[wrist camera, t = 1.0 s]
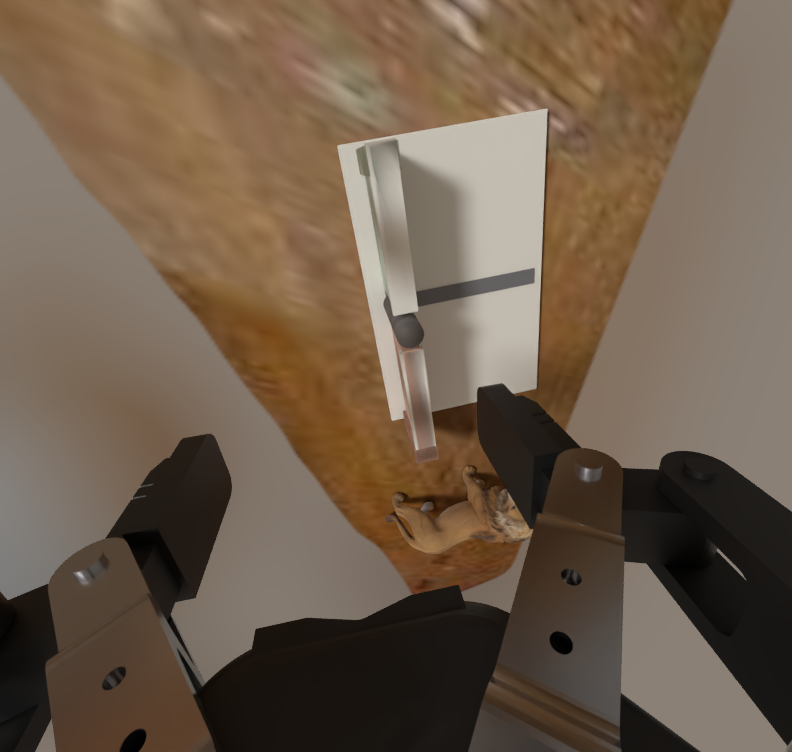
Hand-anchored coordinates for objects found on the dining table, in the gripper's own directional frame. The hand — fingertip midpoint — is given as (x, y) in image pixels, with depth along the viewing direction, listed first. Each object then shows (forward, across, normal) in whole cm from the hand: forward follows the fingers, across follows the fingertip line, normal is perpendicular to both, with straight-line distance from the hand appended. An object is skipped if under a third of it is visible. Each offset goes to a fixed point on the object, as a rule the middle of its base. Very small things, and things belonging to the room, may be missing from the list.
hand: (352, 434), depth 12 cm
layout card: (+20, -9, +1) cm, 21 cm away
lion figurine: (+21, -8, +22) cm, 32 cm away
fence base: (+19, -4, -3) cm, 19 cm away
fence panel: (+19, -4, +8) cm, 21 cm away
